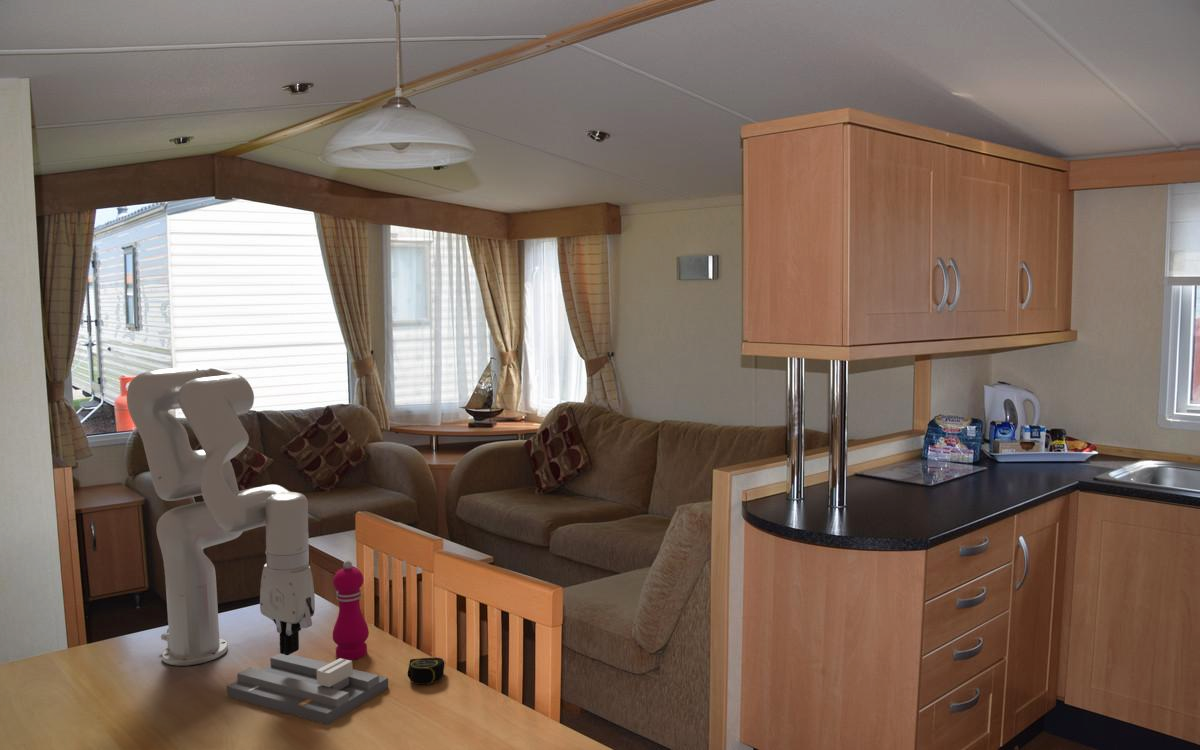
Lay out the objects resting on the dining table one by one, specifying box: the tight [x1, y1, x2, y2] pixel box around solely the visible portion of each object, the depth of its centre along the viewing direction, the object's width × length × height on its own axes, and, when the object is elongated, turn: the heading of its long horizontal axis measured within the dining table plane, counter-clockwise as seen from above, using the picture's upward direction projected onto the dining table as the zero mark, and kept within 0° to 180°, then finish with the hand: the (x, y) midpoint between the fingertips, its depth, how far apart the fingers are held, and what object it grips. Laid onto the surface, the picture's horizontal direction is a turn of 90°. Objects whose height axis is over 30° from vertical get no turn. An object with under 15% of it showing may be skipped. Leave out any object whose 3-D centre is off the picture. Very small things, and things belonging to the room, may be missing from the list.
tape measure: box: [407, 657, 445, 685], centre depth 176 cm, size 7×7×4 cm
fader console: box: [226, 652, 389, 725], centre depth 171 cm, size 25×16×4 cm, turn 63°
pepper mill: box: [332, 560, 370, 661], centre depth 188 cm, size 7×7×20 cm
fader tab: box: [316, 658, 353, 690], centre depth 168 cm, size 3×6×4 cm, turn 153°
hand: (289, 651), depth 173 cm, fingers closed
